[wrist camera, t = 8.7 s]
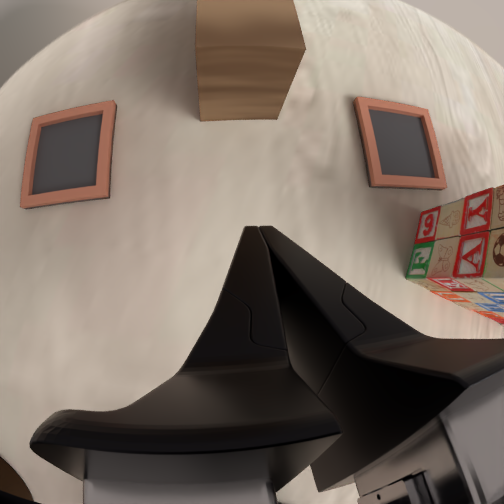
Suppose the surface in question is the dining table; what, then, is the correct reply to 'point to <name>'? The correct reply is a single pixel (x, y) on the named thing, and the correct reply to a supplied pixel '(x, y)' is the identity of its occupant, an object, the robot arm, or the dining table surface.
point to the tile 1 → (69, 156)
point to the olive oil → (12, 482)
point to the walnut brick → (246, 57)
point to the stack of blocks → (463, 252)
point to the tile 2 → (399, 145)
